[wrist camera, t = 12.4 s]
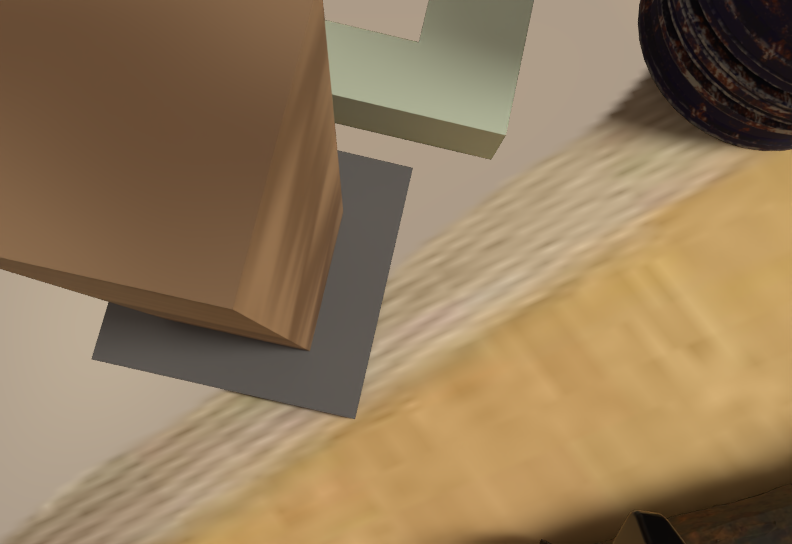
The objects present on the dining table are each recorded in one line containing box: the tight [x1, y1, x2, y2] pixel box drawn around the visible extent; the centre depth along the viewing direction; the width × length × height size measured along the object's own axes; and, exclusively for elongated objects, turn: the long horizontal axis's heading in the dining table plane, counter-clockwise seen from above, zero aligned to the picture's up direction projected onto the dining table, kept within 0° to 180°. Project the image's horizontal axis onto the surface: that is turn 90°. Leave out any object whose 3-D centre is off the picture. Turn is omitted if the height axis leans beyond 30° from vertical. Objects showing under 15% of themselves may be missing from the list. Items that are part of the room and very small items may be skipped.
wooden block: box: [0, 0, 343, 351], centre depth 16 cm, size 5×5×14 cm
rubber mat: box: [92, 150, 413, 419], centre depth 23 cm, size 9×9×1 cm
